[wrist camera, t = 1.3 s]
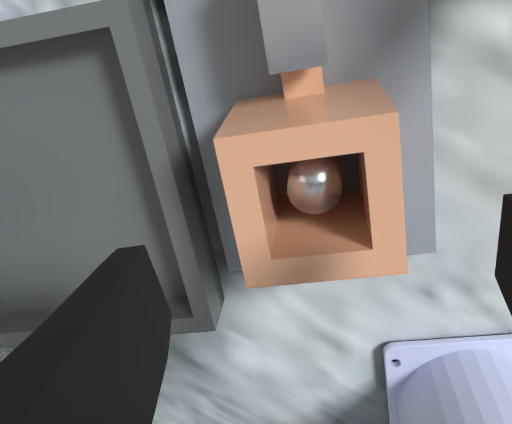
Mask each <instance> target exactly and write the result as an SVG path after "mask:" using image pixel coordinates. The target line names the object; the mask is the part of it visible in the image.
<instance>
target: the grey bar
mask: <svg viewBox="0 0 512 424" xmlns="http://www.w3.org/2000/svg"><path fill="white" fill-rule="evenodd" d="M257 2H258V8H259V14H260V21H261V27H262V33H263V39H264V45H265V51H266V57H267V63H268V69H269V75H272V74H278V73H284V72H290V71H295V70H301V69H307V68H313V67H319V66H325V65H328V61H327V52H326V43H325V35H324V26H323V17H322V8H321V0H257ZM287 194H288V197H289V200H290V201H291V203H292V204H293V205H294V206H295V207H296V208H297V209H298V210H300V211H302V212H304V213H307V214H321V213H325V212H327V211H329V210H331V209H332V208H333V207H334V206H335V205H336V204H337V203H338V201H339V200H340V197H341V194H342V183H341V176H340V169H339V162H338V156H330V157H323V158H316V159H308V160H301V161H293V162H290V167H289V176H288V184H287Z"/></svg>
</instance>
